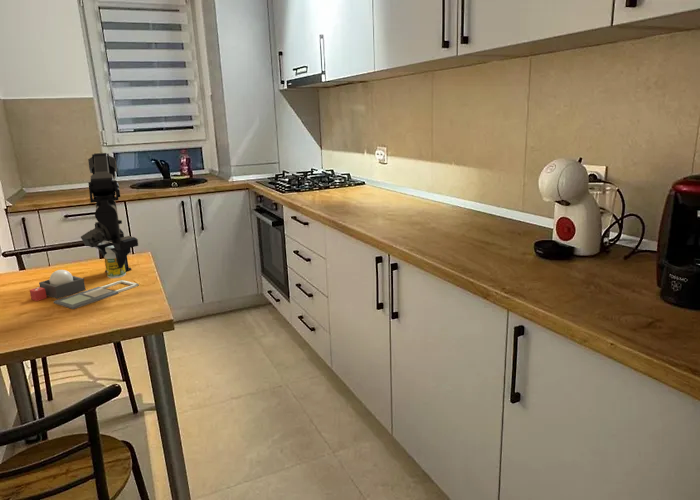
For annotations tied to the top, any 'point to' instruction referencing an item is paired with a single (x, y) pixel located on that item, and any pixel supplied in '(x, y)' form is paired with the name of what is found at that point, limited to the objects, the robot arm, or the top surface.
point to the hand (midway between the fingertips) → (115, 266)
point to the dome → (60, 277)
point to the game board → (92, 295)
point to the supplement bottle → (113, 264)
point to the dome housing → (57, 289)
